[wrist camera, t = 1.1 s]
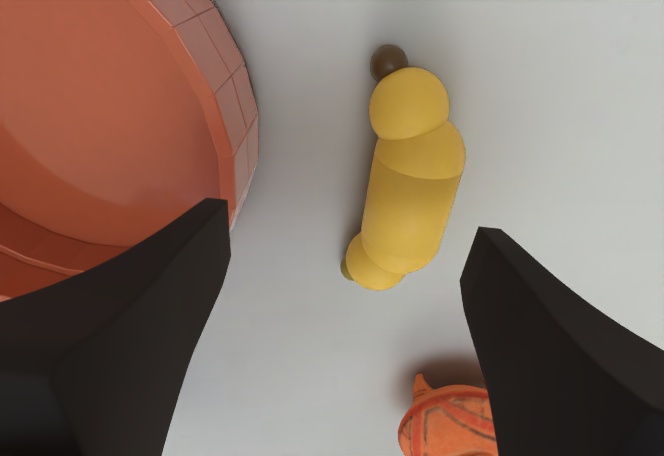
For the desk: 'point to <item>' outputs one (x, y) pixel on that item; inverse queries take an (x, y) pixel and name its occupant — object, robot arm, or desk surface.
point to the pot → (448, 422)
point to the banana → (405, 174)
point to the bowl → (113, 129)
